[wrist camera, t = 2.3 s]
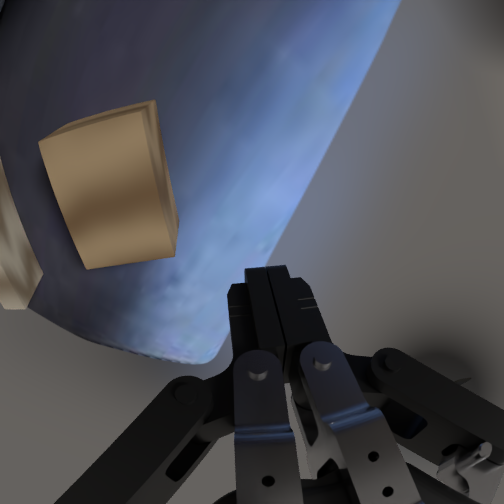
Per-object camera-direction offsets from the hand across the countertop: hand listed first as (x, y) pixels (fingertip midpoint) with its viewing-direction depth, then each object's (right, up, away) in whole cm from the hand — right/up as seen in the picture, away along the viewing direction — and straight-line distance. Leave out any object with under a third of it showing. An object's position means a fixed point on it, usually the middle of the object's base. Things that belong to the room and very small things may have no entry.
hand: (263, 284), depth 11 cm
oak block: (-10, +7, +10) cm, 16 cm away
